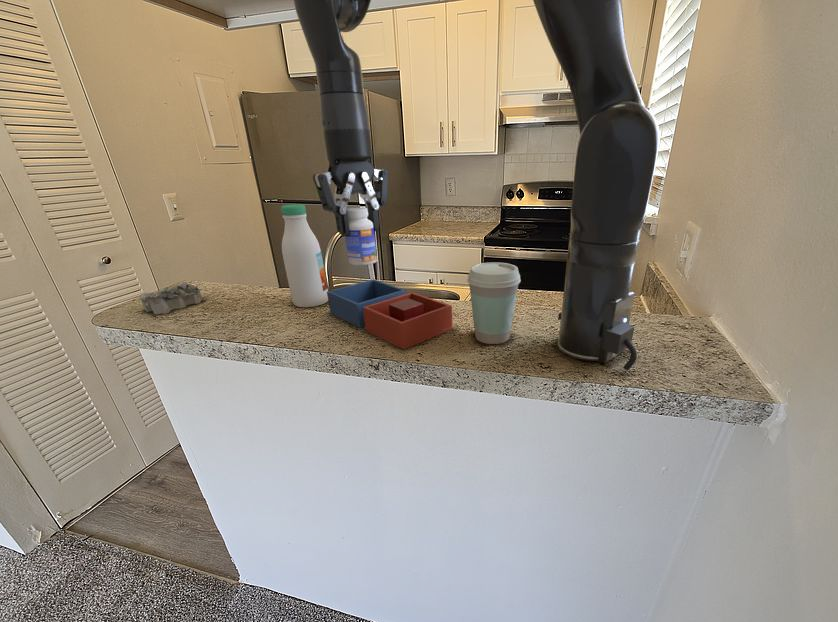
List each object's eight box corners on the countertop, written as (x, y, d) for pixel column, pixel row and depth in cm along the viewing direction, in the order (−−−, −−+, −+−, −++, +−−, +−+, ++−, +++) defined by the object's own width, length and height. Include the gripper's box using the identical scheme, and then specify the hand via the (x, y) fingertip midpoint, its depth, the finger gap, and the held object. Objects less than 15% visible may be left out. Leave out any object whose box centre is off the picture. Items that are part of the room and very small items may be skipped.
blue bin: (407, 311, 81) (406, 290, 79) (360, 328, 75) (357, 304, 72) (376, 299, 89) (373, 279, 86) (330, 313, 82) (326, 291, 80)
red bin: (452, 329, 73) (451, 305, 71) (403, 349, 66) (401, 323, 64) (413, 314, 80) (411, 291, 78) (365, 330, 73) (362, 307, 71)
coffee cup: (515, 349, 65) (519, 276, 59) (463, 345, 67) (462, 274, 61) (519, 328, 72) (523, 262, 67) (472, 325, 74) (472, 260, 68)
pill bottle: (368, 267, 74) (361, 210, 69) (343, 265, 76) (334, 210, 71) (382, 259, 78) (377, 206, 74) (358, 258, 80) (351, 206, 75)
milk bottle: (319, 309, 84) (300, 207, 75) (286, 307, 86) (263, 208, 76) (335, 297, 91) (320, 202, 82) (304, 295, 92) (285, 202, 83)
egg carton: (157, 316, 83) (149, 298, 81) (140, 310, 87) (133, 292, 85) (208, 301, 91) (202, 283, 89) (191, 295, 95) (185, 278, 93)
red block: (425, 326, 73) (423, 303, 71) (405, 334, 70) (403, 310, 68) (409, 320, 76) (408, 298, 74) (390, 327, 73) (388, 304, 71)
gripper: (316, 126, 60) (335, 242, 68) (394, 126, 68) (403, 230, 76) (294, 128, 65) (314, 237, 73) (370, 129, 73) (380, 225, 81)
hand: (359, 232), depth 74 cm, fingers closed on pill bottle, 5 cm apart
